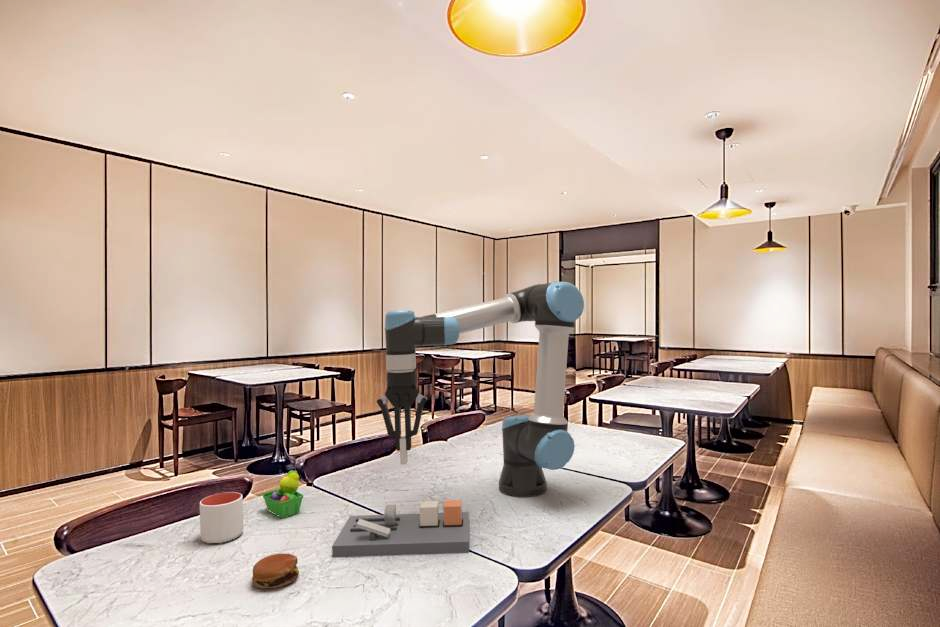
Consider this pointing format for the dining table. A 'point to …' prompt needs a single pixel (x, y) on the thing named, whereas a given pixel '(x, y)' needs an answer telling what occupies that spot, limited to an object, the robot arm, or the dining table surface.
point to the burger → (275, 571)
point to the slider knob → (390, 515)
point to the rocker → (373, 527)
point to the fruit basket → (285, 496)
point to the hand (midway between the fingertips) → (404, 462)
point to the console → (402, 537)
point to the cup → (221, 517)
